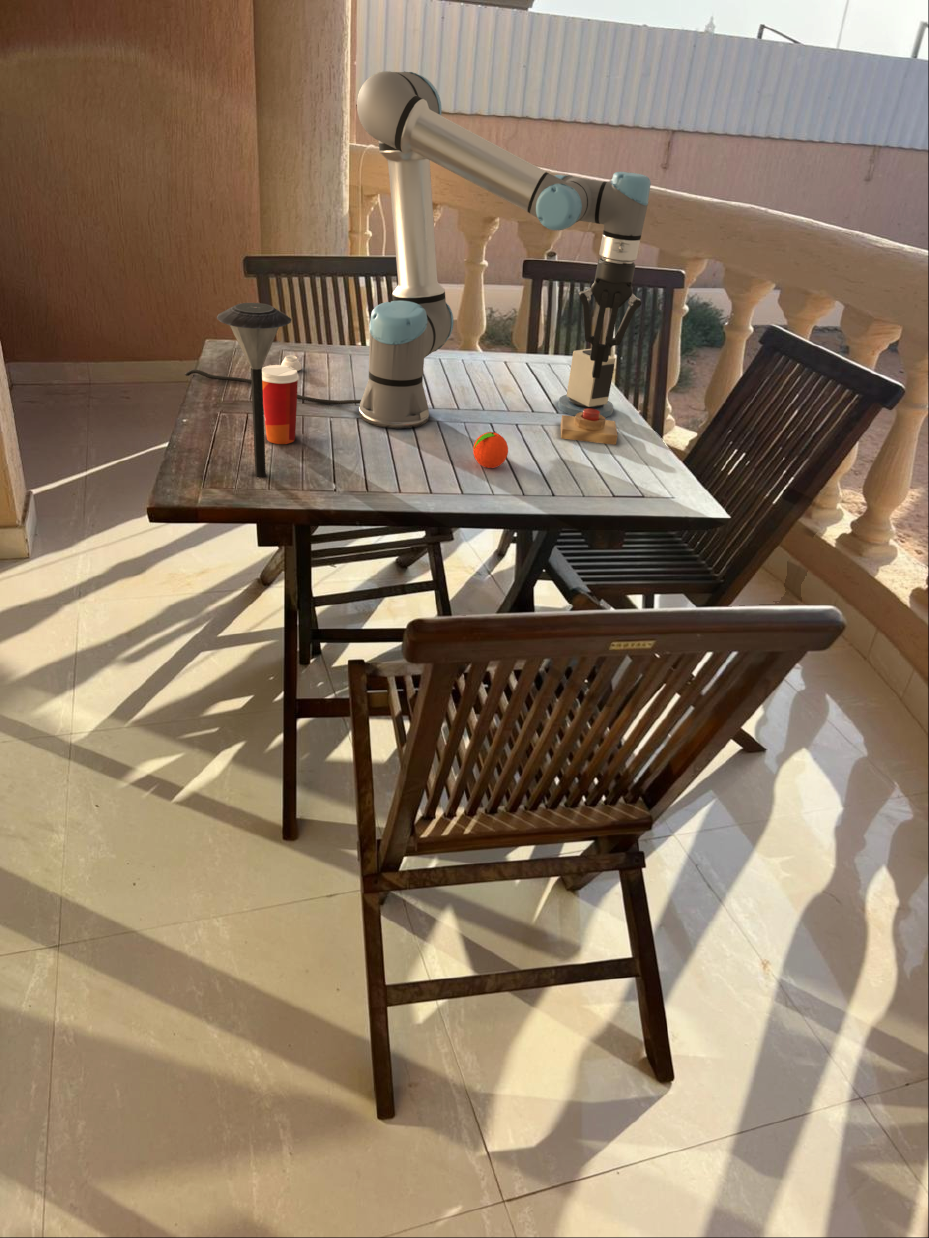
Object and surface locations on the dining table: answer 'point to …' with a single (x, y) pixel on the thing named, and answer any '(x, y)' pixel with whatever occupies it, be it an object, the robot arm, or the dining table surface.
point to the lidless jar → (292, 362)
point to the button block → (588, 429)
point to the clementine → (490, 450)
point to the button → (591, 414)
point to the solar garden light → (255, 357)
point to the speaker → (589, 380)
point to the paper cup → (280, 402)
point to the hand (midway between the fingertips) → (595, 376)
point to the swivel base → (574, 409)
